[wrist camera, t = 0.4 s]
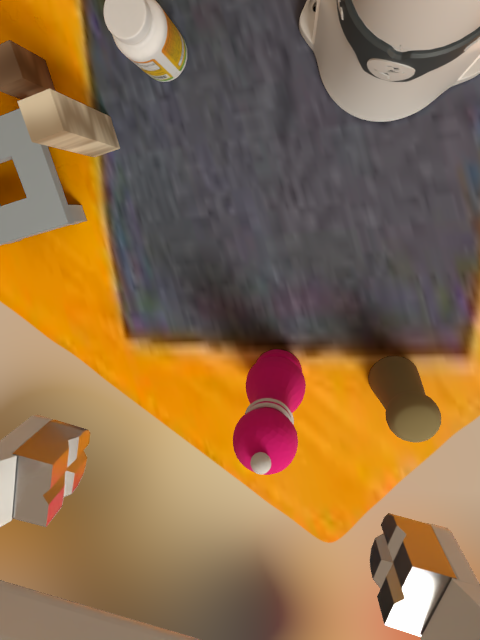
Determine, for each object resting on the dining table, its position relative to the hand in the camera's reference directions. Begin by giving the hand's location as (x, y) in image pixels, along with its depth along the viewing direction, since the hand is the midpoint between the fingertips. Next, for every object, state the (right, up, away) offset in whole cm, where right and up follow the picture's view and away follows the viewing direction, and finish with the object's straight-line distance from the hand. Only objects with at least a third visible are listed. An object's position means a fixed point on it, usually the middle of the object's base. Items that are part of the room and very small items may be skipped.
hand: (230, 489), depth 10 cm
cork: (+20, -3, +37) cm, 42 cm away
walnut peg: (-24, +33, +35) cm, 53 cm away
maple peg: (-16, +27, +35) cm, 47 cm away
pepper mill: (+5, -2, +40) cm, 40 cm away
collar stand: (-27, +22, +38) cm, 52 cm away
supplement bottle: (-8, +34, +32) cm, 47 cm away
